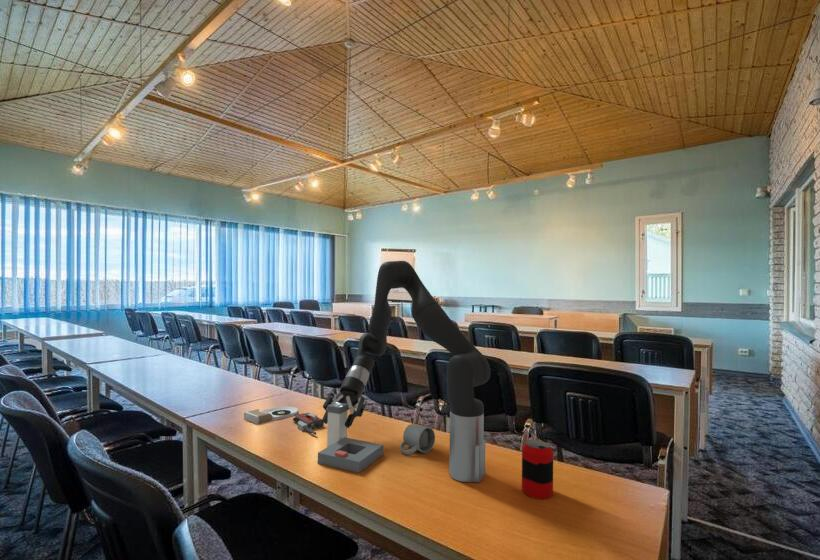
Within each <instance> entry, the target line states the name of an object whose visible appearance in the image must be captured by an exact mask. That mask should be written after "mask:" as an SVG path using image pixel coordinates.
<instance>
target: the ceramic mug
mask: <svg viewBox="0 0 820 560" xmlns="http://www.w3.org/2000/svg"><path fill="white" fill-rule="evenodd" d="M402 436H403V437H402V438H403V441H402V442H401V443H400V446H399V449H400V451H401V453H402V454H403V455H405V456H407V455H412V454H414V453H415V452H417V451H418V452H420V453H422V454H423V453H424V454H426V453H428V452H431V450H432V449H433V447H434V445H435V442H436V434H435V430H434V429H433V428H432V427H430V426H425V425H421V424H417V423H412V424H408V425H407V426H406V428H405V429H404V431H403V435H402ZM405 446H407V447H409V449H406V450H404V447H405Z"/></svg>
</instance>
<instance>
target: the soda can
mask: <svg viewBox="0 0 820 560" xmlns="http://www.w3.org/2000/svg"><path fill="white" fill-rule="evenodd" d="M521 490H522V492H523V493H524V494H525V495H527V496H528V497H530V498H533V497H534V498H533V499H537V498H540V499H539V500H545V499H544V498H547V499H549V498H551V497H552V496H553V494H554V450H553V449H552V447H551V446H550V444H549V443H548V442H546V441H542V440H538V439H537V440H536V439H533V440H528V441H526V442H525V444H524V445H523V446H522V449H521Z"/></svg>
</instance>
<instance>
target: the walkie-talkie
mask: <svg viewBox="0 0 820 560" xmlns="http://www.w3.org/2000/svg"><path fill="white" fill-rule="evenodd" d="M292 421H293V422H294V423H295V424H297V429H298V430H300V431H301V432H306V431H307V432H308V433H310V434H313V435H315V436H316V435H317V432H316V431H314V430H315V429H319V428H324V427H323V426H324V425H325V423H324V422H323V418H321V417H319V416H318V414H315V413H312V412H311V413H310V412H302V413H297V414H296V415H294V417H293V418H292Z"/></svg>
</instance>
